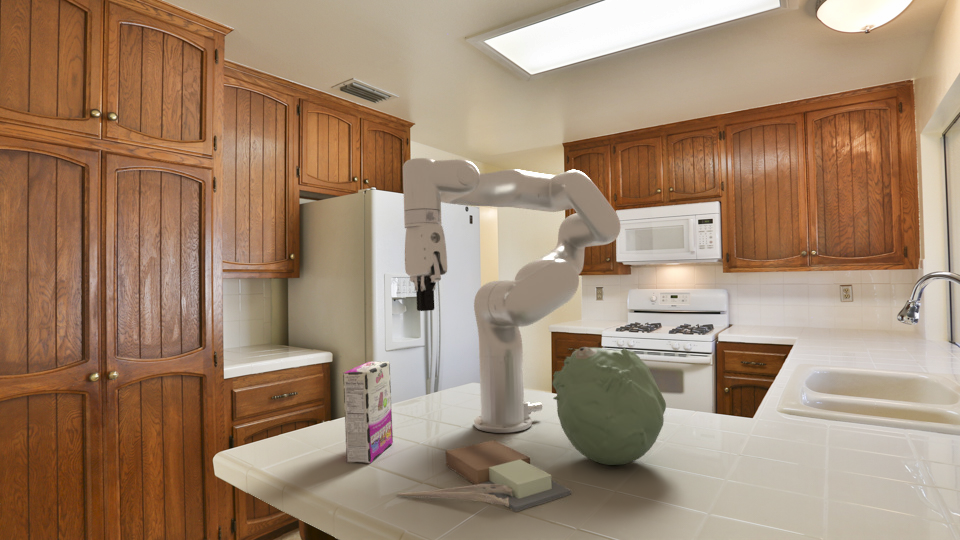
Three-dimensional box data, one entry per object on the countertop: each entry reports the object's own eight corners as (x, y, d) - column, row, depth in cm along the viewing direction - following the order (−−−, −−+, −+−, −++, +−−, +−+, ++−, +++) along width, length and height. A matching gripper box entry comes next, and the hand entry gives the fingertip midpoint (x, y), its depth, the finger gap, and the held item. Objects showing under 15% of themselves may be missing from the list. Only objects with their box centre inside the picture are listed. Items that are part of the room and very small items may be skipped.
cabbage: (673, 484, 76) (668, 353, 77) (549, 475, 81) (545, 352, 81) (663, 449, 91) (659, 340, 92) (559, 444, 96) (556, 340, 97)
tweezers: (514, 493, 73) (512, 479, 73) (508, 509, 68) (506, 495, 68) (404, 496, 77) (402, 483, 77) (391, 511, 73) (389, 498, 73)
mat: (531, 473, 82) (531, 469, 82) (570, 494, 74) (570, 490, 74) (479, 487, 77) (479, 483, 77) (515, 511, 69) (514, 507, 69)
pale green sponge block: (520, 471, 81) (520, 459, 81) (551, 488, 75) (551, 475, 75) (489, 480, 78) (488, 467, 78) (518, 498, 71) (518, 484, 72)
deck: (494, 453, 92) (494, 439, 92) (530, 472, 82) (530, 457, 83) (446, 465, 87) (445, 450, 87) (478, 487, 77) (477, 470, 77)
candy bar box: (370, 442, 100) (367, 360, 101) (393, 443, 99) (391, 361, 100) (344, 463, 89) (341, 371, 90) (370, 464, 88) (367, 371, 89)
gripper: (458, 217, 98) (461, 310, 98) (421, 225, 110) (423, 308, 110) (425, 215, 94) (428, 313, 93) (390, 223, 106) (392, 310, 106)
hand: (425, 310), depth 102 cm, fingers closed
